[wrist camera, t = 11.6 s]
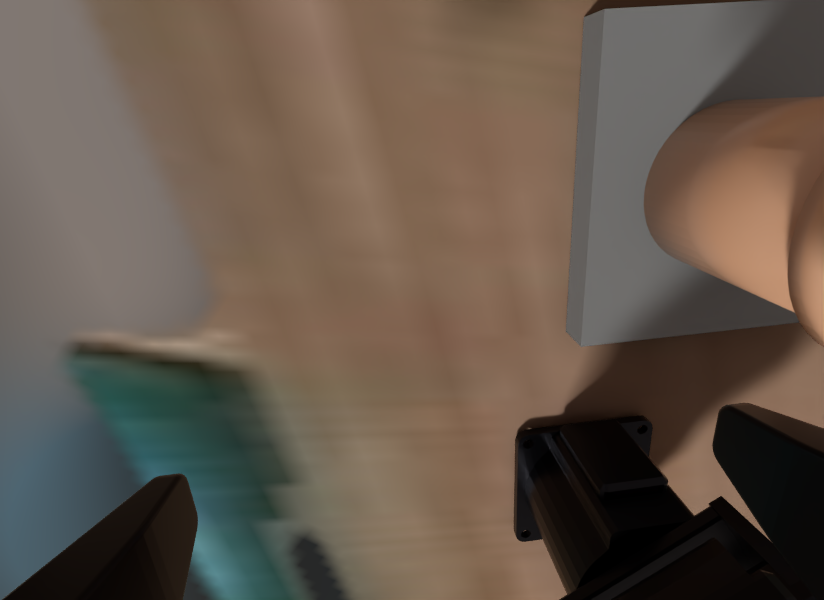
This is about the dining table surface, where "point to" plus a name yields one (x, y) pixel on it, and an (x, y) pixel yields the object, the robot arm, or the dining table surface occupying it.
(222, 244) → the dining table surface
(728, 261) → the terracotta pot
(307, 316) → the dining table surface
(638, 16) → the rubber mat
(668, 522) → the robot arm
